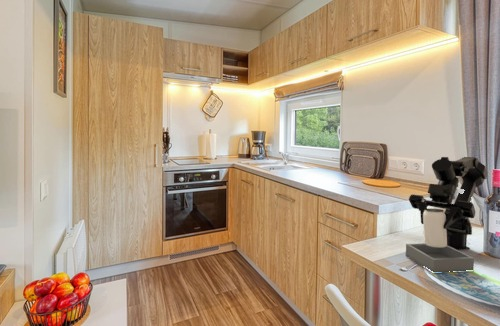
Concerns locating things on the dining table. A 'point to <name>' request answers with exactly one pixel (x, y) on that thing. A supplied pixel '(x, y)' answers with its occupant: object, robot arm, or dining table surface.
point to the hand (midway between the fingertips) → (432, 225)
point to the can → (434, 228)
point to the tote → (439, 258)
